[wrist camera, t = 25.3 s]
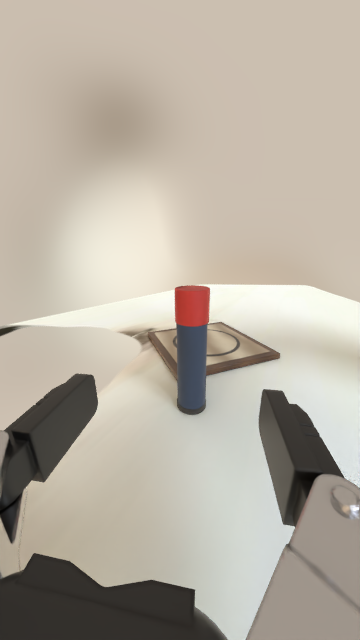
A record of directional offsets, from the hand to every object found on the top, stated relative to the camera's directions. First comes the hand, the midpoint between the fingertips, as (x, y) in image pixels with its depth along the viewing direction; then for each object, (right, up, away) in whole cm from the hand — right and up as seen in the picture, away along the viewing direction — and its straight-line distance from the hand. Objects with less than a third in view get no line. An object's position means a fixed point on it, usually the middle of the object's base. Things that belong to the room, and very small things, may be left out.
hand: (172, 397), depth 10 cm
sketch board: (+5, -1, +25) cm, 26 cm away
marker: (+2, -5, +12) cm, 13 cm away
